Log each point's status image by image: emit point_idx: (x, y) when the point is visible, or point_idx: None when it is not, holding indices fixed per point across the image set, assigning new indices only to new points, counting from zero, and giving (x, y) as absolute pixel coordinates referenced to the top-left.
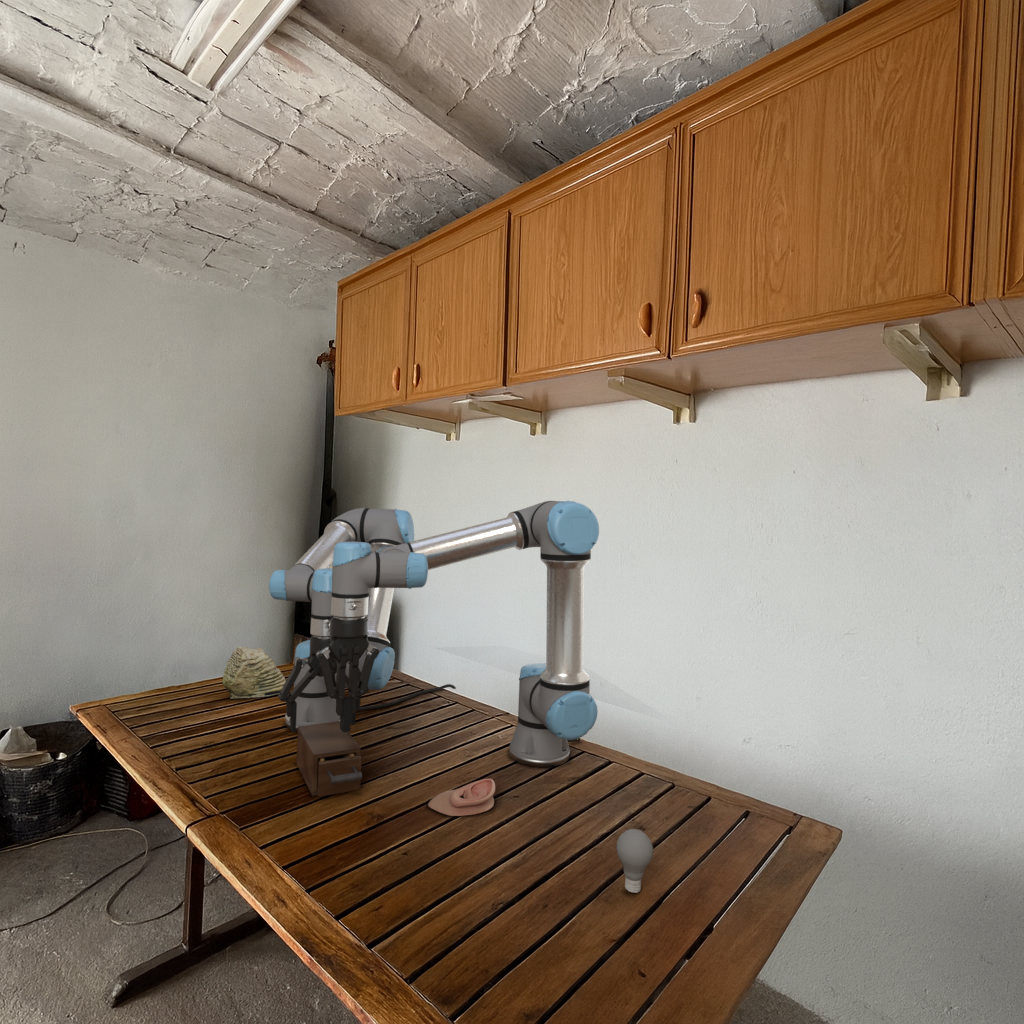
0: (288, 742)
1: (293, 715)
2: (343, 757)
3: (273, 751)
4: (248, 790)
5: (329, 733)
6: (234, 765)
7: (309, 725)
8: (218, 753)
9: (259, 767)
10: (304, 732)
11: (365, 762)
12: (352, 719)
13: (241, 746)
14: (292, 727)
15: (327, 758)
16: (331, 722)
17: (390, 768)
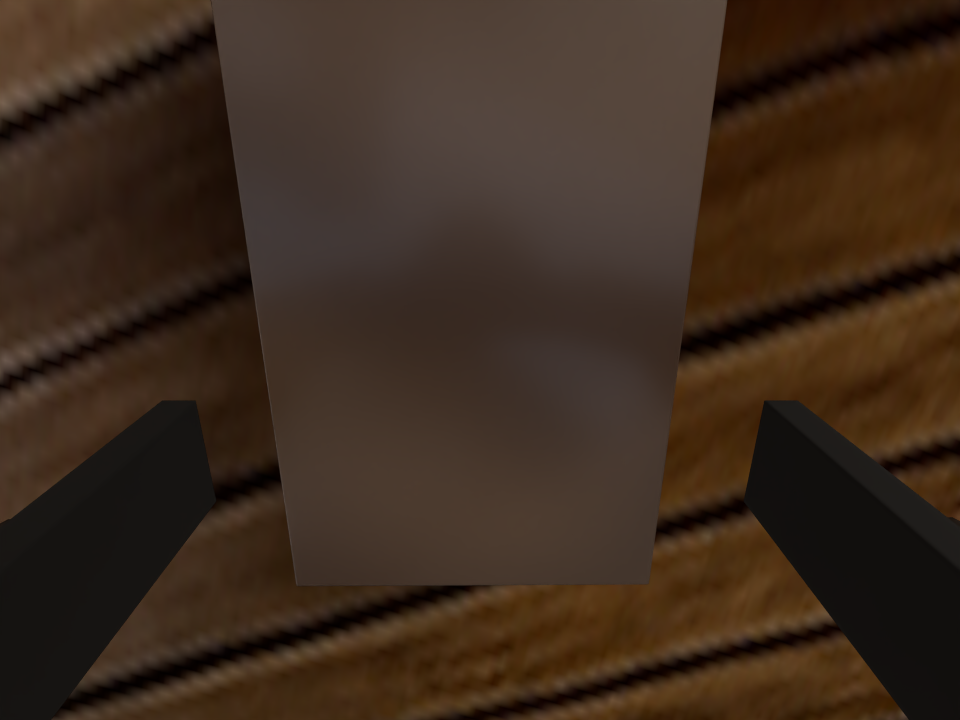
0: (558, 670)
1: (921, 500)
2: None
3: (649, 604)
4: (916, 200)
5: (439, 347)
6: None
7: (556, 575)
8: None
9: None
10: (640, 447)
11: (223, 311)
12: (165, 427)
13: (759, 694)
14: (826, 423)
15: None
16: (371, 578)
17: (77, 162)
